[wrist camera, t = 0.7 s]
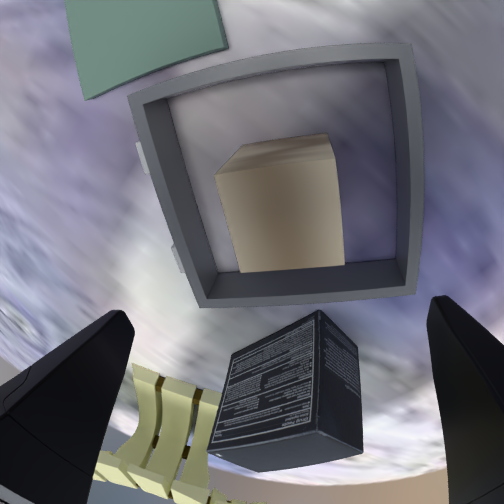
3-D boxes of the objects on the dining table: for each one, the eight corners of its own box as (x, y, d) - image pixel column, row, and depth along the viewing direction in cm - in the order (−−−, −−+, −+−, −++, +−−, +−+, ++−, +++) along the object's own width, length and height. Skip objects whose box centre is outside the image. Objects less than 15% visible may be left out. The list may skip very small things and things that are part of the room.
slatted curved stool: (98, 394, 42) (57, 476, 27) (76, 338, 33) (10, 445, 18) (270, 449, 41) (251, 545, 26) (303, 411, 32) (283, 549, 17)
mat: (196, -74, 9) (190, -80, 8) (228, 48, 14) (223, 47, 13) (71, -12, 12) (63, -13, 11) (93, 98, 17) (84, 100, 16)
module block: (326, 133, 16) (335, 158, 11) (336, 210, 19) (344, 265, 14) (242, 144, 17) (214, 175, 12) (259, 218, 20) (240, 272, 15)
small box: (274, 385, 30) (257, 475, 21) (229, 353, 28) (199, 451, 19) (361, 348, 25) (366, 457, 16) (319, 306, 23) (314, 431, 14)
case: (394, 48, 12) (411, 43, 10) (405, 267, 20) (415, 294, 17) (144, 94, 16) (118, 99, 14) (204, 282, 24) (192, 308, 21)
